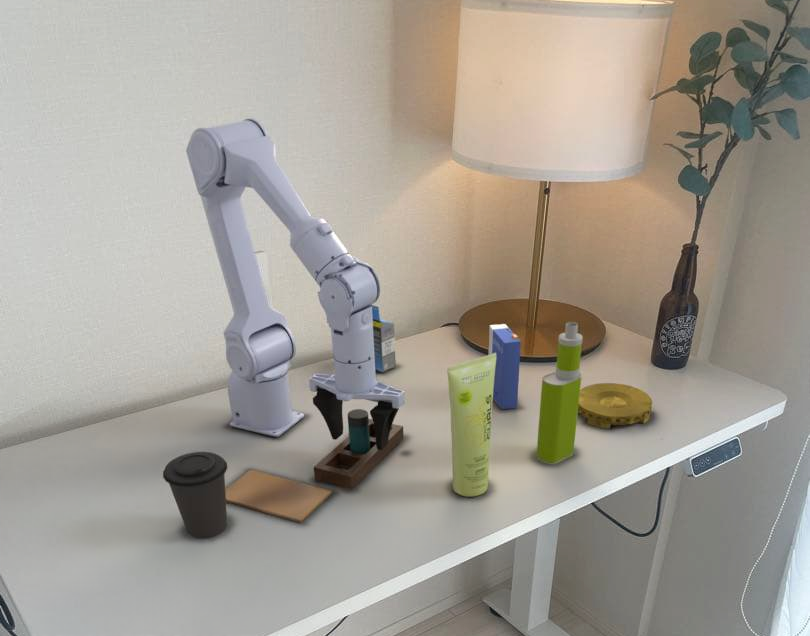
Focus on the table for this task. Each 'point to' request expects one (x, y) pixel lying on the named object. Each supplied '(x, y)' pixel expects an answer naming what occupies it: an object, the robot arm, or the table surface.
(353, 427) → the teal capped bottle
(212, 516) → the coffee cup
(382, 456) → the pen stand
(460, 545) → the table surface
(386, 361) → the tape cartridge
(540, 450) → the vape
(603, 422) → the yellow flat disc
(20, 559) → the table surface
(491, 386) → the tube
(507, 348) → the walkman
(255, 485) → the cork mat
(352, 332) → the robot arm
